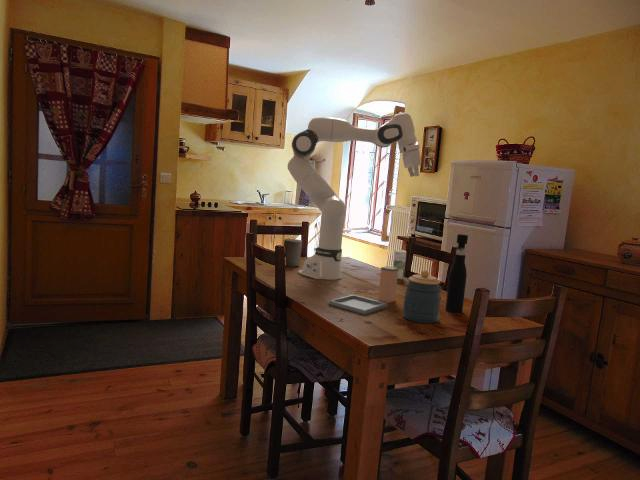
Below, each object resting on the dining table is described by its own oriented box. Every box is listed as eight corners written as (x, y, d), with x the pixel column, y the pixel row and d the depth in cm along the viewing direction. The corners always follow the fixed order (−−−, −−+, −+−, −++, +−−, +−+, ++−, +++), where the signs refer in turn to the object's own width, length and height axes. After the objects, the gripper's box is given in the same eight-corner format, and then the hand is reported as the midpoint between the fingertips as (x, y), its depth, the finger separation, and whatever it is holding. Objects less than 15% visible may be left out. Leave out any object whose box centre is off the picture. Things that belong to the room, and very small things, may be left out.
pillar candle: (279, 265, 249) (282, 237, 247) (284, 262, 259) (286, 235, 257) (298, 268, 248) (300, 239, 246) (301, 264, 257) (304, 237, 255)
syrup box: (402, 277, 244) (405, 249, 242) (403, 280, 238) (406, 251, 236) (391, 276, 244) (394, 248, 242) (392, 278, 238) (394, 250, 237)
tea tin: (377, 300, 193) (381, 267, 191) (384, 298, 197) (387, 266, 196) (388, 302, 190) (392, 269, 188) (395, 300, 194) (398, 268, 192)
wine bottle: (459, 314, 181) (469, 236, 177) (443, 310, 184) (452, 234, 181) (464, 311, 187) (473, 235, 183) (448, 307, 190) (456, 233, 186)
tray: (328, 305, 179) (329, 300, 179) (352, 298, 192) (353, 294, 192) (364, 315, 170) (364, 310, 169) (386, 307, 182) (387, 303, 182)
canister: (415, 324, 163) (421, 274, 161) (395, 313, 175) (400, 266, 172) (446, 322, 168) (451, 274, 166) (424, 312, 180) (429, 266, 178)
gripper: (397, 150, 234) (403, 178, 236) (406, 147, 214) (413, 177, 215) (410, 147, 234) (416, 175, 236) (420, 144, 214) (426, 174, 216)
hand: (414, 176), depth 225 cm, fingers open, 8 cm apart
